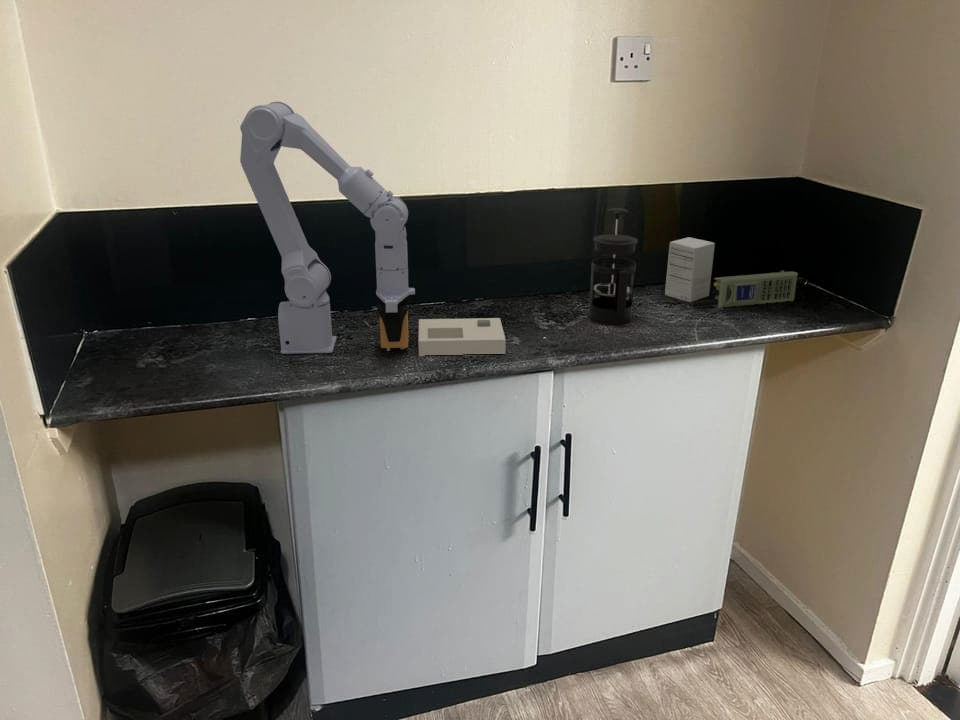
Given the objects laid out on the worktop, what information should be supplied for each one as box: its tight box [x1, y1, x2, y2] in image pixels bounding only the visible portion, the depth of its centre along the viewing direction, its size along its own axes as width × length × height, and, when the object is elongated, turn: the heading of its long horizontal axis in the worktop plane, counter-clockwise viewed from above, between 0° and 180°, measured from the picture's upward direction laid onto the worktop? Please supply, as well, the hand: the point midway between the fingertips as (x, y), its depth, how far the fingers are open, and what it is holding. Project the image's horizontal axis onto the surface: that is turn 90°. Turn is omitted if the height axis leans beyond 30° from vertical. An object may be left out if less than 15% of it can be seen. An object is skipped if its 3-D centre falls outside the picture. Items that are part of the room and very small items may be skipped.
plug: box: [379, 310, 409, 352], centre depth 145 cm, size 5×4×7 cm
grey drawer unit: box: [664, 236, 716, 303], centre depth 175 cm, size 7×7×13 cm
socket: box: [418, 317, 507, 357], centre depth 148 cm, size 16×12×4 cm
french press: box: [587, 207, 639, 326], centre depth 158 cm, size 12×9×23 cm
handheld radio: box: [692, 271, 798, 309], centre depth 171 cm, size 7×3×25 cm
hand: (394, 336), depth 145 cm, fingers closed on plug, 4 cm apart
